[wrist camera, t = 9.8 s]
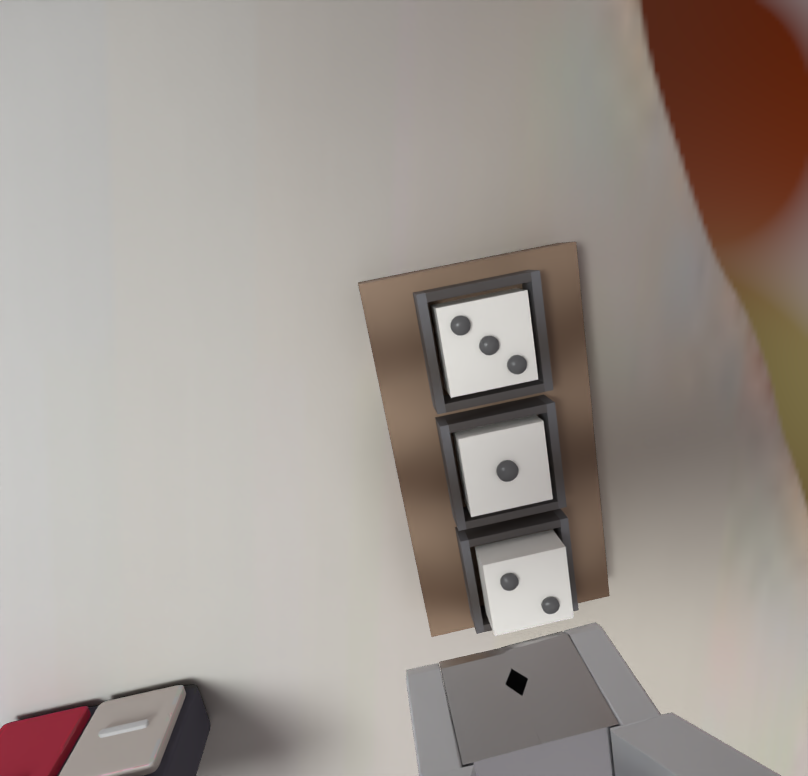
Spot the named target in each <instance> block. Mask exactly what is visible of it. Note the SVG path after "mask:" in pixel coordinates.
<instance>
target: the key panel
mask: <svg viewBox="0 0 808 776" xmlns="http://www.w3.org/2000/svg"><path fill="white" fill-rule="evenodd" d="M358 285H359V290H360V295H361V300H362V304H363V309H364V314H365V319H366V324H367V328H368V333H369V338H370V343H371V348H372V352H373V357H374V362H375V367H376V372H377V377H378V381H379V386H380V391H381V396H382V401H383V405H384V410H385V415H386V420H387V425H388V430H389V434H390V439H391V444H392V449H393V454H394V458H395V463H396V468H397V473H398V478H399V482H400V487H401V492H402V497H403V502H404V507H405V511H406V516H407V521H408V526H409V531H410V535H411V540H412V545H413V550H414V555H415V560H416V564H417V569H418V574H419V579H420V584H421V588H422V593H423V598H424V603H425V608H426V612H427V617H428V622H429V627H430V632H431V637H434V636H438V635H442V634H447V633H451V632H455V631H460V630H464V629H468V628H473V627H475V629H476V632H477V634H478V633H482V632H486V631H491V630H492V628H491V625H490V623H489V620H488V617H487V615H486V609H485V604H484V598H483V592H482V586H481V580H480V574H479V569H478V563H477V557H476V551H475V547H476V546H480V545H485V544H489V543H494V542H498V541H503V540H507V539H512V538H516V537H521V536H525V535H530V534H534V533H539V532H543V531H548V530H552V529H553V530H554V532H555V533H556V535H557V536H558V537H559V539H560V540H561V541H562V543H563V544H564V545H565V547H566V555H567V563H568V572H569V580H570V589H571V597H572V606H573V611H577V610H579V609H578V603H581V602H585V601H589V600H594V599H598V598H602V597H607V596H609V586H608V575H607V565H606V554H605V544H604V533H603V522H602V512H601V501H600V490H599V480H598V469H597V459H596V448H595V437H594V427H593V416H592V406H591V395H590V384H589V374H588V363H587V352H586V342H585V331H584V321H583V310H582V299H581V289H580V278H579V267H578V257H577V246H576V242H566V243H556V244H551V245H546V246H541V247H536V248H531V249H526V250H521V251H516V252H511V253H506V254H501V255H496V256H490V257H485V258H480V259H475V260H470V261H465V262H460V263H455V264H450V265H445V266H440V267H435V268H430V269H424V270H419V271H414V272H409V273H404V274H399V275H394V276H389V277H384V278H379V279H374V280H369V281H364V282H359V283H358ZM513 288H519V289H524V290H528V298H529V307H530V315H531V323H532V331H533V340H534V348H535V356H536V364H537V373H538V380H533V381H529V382H524V383H519V384H514V385H510V386H505V387H500V388H495V389H490V390H486V391H481V392H476V393H471V394H467V395H462V396H457V397H452V398H451V397H450V395H449V394H448V393H447V391H446V390H445V387H444V381H443V375H442V369H441V363H440V358H439V352H438V346H437V340H436V335H435V329H434V323H433V317H432V311H431V306H430V305H433V304H438V303H443V302H448V301H453V300H458V299H463V298H468V297H473V296H478V295H483V294H488V293H493V292H498V291H503V290H508V289H513ZM533 415H537V416H538V417H539V418H540V419H542V420H543V422H544V430H545V438H546V447H547V455H548V463H549V471H550V479H551V488H552V496H553V499H551V500H547V501H542V502H538V503H533V504H529V505H524V506H519V507H515V508H510V509H506V510H501V511H497V512H492V513H488V514H483V515H479V516H474V517H471V515H470V513H469V511H468V508H467V506H466V504H465V502H464V497H463V491H462V485H461V479H460V474H459V468H458V462H457V456H456V450H455V445H454V439H453V432H458V431H462V430H467V429H472V428H476V427H481V426H486V425H491V424H495V423H500V422H505V421H509V420H514V419H519V418H523V417H528V416H533Z"/></svg>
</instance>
